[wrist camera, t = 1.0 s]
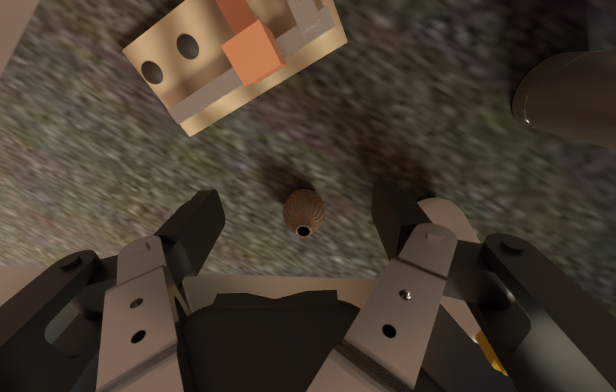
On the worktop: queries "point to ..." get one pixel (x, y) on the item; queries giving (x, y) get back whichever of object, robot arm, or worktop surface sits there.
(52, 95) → the worktop surface
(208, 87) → the rail
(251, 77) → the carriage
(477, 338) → the soap bottle
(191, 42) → the hole board
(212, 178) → the worktop surface
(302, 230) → the vase
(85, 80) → the worktop surface
